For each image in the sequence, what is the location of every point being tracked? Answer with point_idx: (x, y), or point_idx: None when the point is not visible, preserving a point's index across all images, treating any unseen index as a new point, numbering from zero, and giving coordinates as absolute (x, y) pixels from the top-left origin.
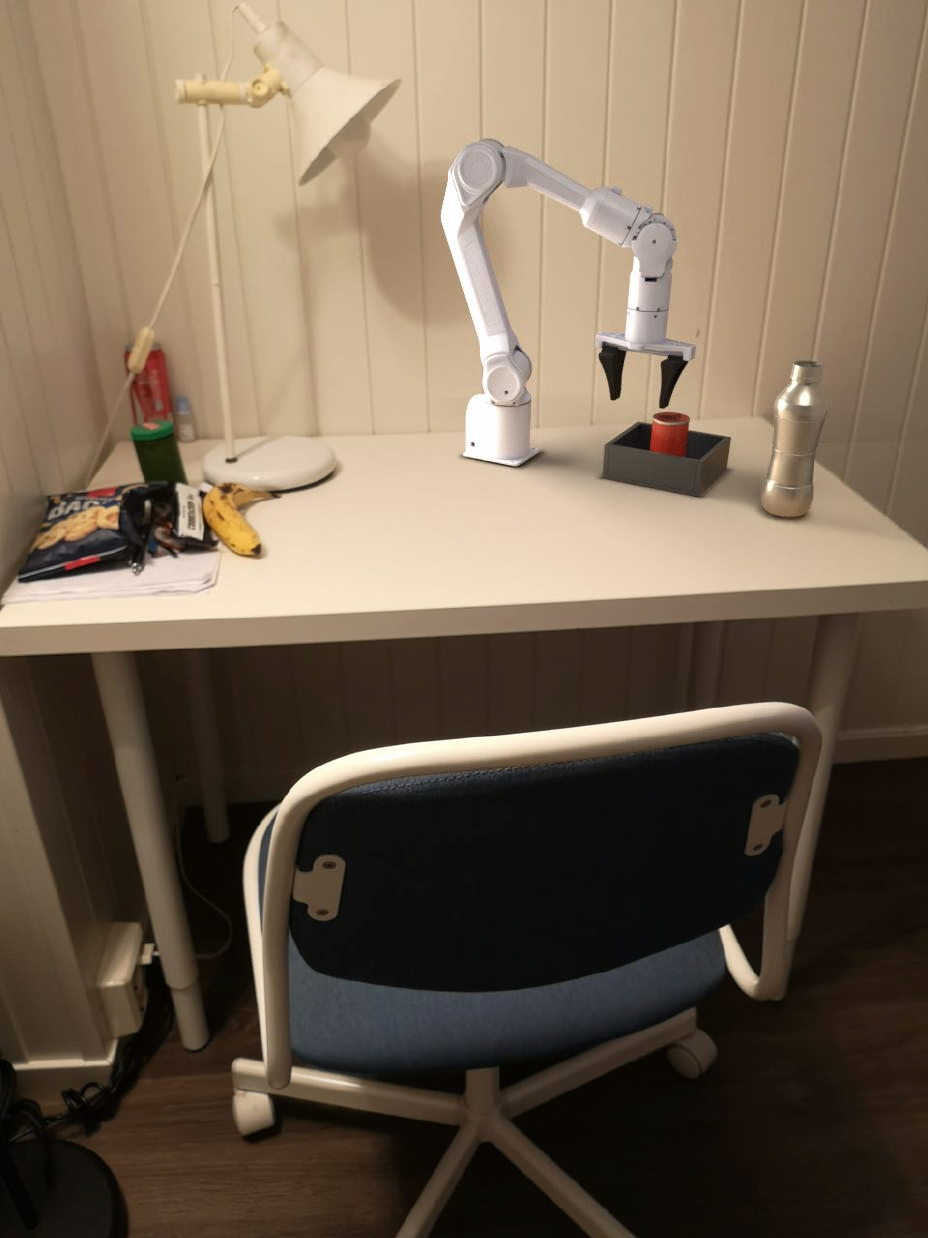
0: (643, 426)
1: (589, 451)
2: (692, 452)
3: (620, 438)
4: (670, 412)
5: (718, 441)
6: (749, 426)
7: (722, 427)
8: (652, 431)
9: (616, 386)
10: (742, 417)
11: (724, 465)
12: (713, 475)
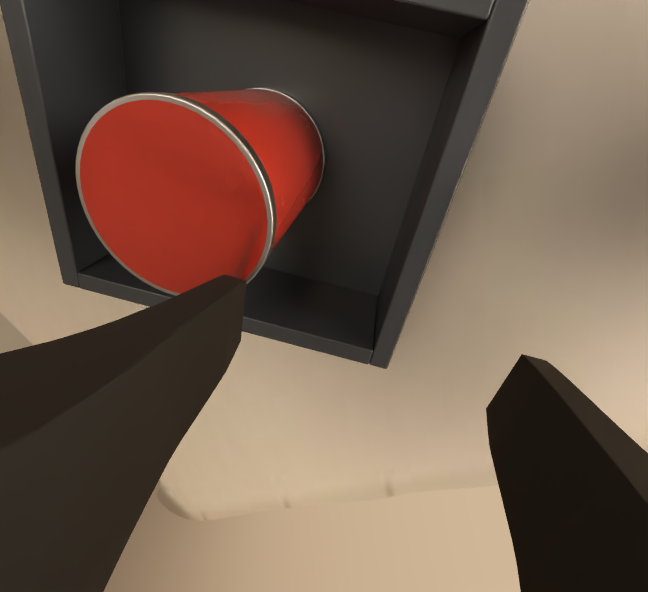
0: (362, 341)
1: (533, 292)
2: None
3: (441, 151)
4: None
5: (105, 269)
6: (191, 480)
7: (233, 473)
8: (278, 149)
9: (540, 436)
10: (216, 513)
11: None
12: None
